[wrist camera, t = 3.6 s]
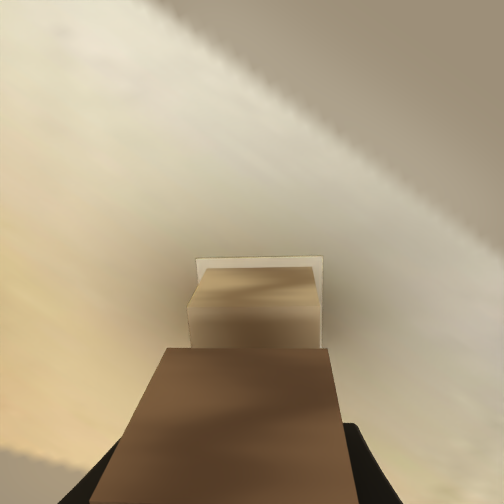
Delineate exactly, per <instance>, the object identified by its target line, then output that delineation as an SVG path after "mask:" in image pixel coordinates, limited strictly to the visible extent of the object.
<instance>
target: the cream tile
mask: <svg viewBox="0 0 504 504" xmlns="http://www.w3.org/2000/svg"><path fill="white" fill-rule="evenodd" d="M196 267H197V276H198V284H199V283H200V281H201V279H202V277H203V275H204V273H205V271H206V269H207V268H263V267H312V269H313V274H314V279H315V284H316V288H317V293H318V298H319V303H320V348H322V286H323V256H280V257H231V258H196Z"/></svg>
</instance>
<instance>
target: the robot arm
mask: <svg viewBox="0 0 504 504" xmlns="http://www.w3.org/2000/svg"><path fill="white" fill-rule="evenodd" d="M343 428H344V433H345V438H346V443H347V448H348V453H349V458H350V463H351V468H352V473H353V478H354V483H355V488H356V493H357V498H358V503H359V504H403V503H402V501H401V500H400V498H399V497H398V495H397V494H396V492H395V491H394V489H393V488H392V486H391V485H390V483H389V481H388V480H387V478H386V477H385V475H384V473H383V472H382V470H381V469H380V467H379V465H378V464H377V462H376V460H375V458H374V457H373V455H372V453H371V451H370V450H369V448H368V446H367V444H366V442H365V440H364V438H363V436H362V434H361V432H360V430H359V428H358V426H357V425H355V424H354V423H343ZM120 439H121V438H120ZM120 439H119V440H118V441H117V442H116V443H115V445H114V446H113V447H112V448H111V449H110V450H109V451H108V452H107V453H106V454H105V455H104V457H103V458H102V459H101V460H100V461H99V462H98V463H97V464H96V465H95V466H94V467H93V468H92V469H91V470H90V471H89V472H88V473H87V475H86V476H85V477H84V478H83V479H82V480H81V481H80V482H79V483H78V484H77V485H76V486H75V487H74V488H73V489H72V490H71V491H70V492H69V493H68V494H67V495H66V496H65V497H64V498H63V499H62V500H61V501H60V502H59V503H58V504H90V502H89V500H90V498H91V496H92V494H93V492H94V490H95V489H96V487H97V485H98V483H99V481H100V479H101V477H102V475H103V473H104V471H105V469H106V467H107V465H108V463H109V461H110V459H111V457H112V455H113V453H114V451H115V449H116V447H117V445H118V443H119V441H120Z"/></svg>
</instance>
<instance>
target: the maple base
mask: <svg viewBox="0 0 504 504" xmlns="http://www.w3.org/2000/svg"><path fill="white" fill-rule="evenodd" d="M187 316H188V324H189V332H190V341H191V348H320V303H319V298H318V293H317V288H316V284H315V279H314V274H313V269H312V267H263V268H207V269H206V271H205V273H204V275H203V277H202V279H201V281H200V283H199V284H198V286H197V288H196V290H195V292H194V294H193V296H192V298H191V300H190V302H189V304H188V305H187Z"/></svg>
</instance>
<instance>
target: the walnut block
mask: <svg viewBox="0 0 504 504" xmlns="http://www.w3.org/2000/svg"><path fill="white" fill-rule="evenodd" d="M89 502H90V504H359V503H358V498H357V493H356V488H355V483H354V478H353V473H352V468H351V463H350V458H349V453H348V448H347V443H346V438H345V433H344V428H343V423H342V418H341V413H340V408H339V403H338V398H337V393H336V388H335V383H334V379H333V374H332V369H331V364H330V359H329V354H328V349H322V348H167V349H166V351H165V353H164V355H163V357H162V359H161V361H160V363H159V365H158V367H157V369H156V371H155V373H154V375H153V377H152V379H151V380H150V382H149V384H148V386H147V388H146V390H145V392H144V394H143V396H142V398H141V400H140V402H139V404H138V406H137V408H136V410H135V412H134V414H133V416H132V418H131V420H130V422H129V424H128V426H127V428H126V430H125V432H124V434H123V435H122V437H121V439H120V441H119V443H118V445H117V447H116V449H115V451H114V453H113V455H112V457H111V459H110V461H109V463H108V465H107V467H106V469H105V471H104V473H103V475H102V477H101V479H100V481H99V483H98V485H97V487H96V489H95V490H94V492H93V494H92V496H91V498H90V500H89Z"/></svg>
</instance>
